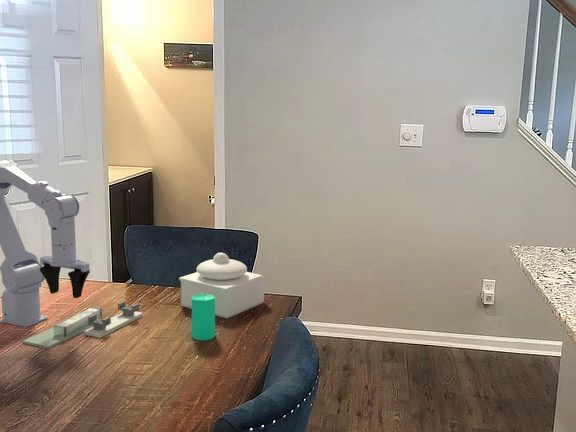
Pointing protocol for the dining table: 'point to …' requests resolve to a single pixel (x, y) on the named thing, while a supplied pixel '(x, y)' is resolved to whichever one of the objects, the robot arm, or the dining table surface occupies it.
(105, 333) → the standards
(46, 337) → the mat
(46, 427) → the dining table surface
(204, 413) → the dining table surface
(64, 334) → the rail
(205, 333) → the candle
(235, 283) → the butter dish
